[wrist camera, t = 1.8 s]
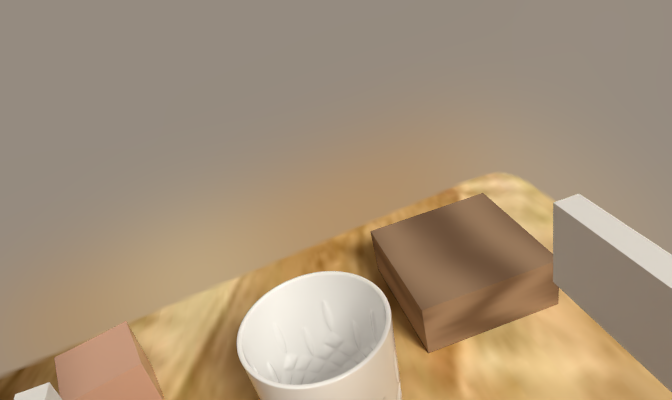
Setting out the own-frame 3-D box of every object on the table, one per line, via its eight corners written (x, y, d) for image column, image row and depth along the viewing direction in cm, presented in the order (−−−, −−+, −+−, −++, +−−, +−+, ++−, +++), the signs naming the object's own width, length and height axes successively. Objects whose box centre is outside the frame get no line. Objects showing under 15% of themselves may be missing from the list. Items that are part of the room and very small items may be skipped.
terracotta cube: (97, 455, 34) (61, 406, 32) (86, 404, 38) (54, 357, 36) (169, 412, 36) (141, 363, 34) (152, 368, 40) (126, 321, 37)
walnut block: (428, 353, 36) (421, 310, 34) (378, 269, 44) (370, 231, 42) (558, 303, 37) (559, 259, 35) (485, 231, 46) (483, 193, 44)
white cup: (279, 407, 35) (233, 294, 29) (393, 371, 35) (368, 255, 30) (294, 529, 28) (239, 410, 23) (435, 482, 28) (412, 356, 23)
